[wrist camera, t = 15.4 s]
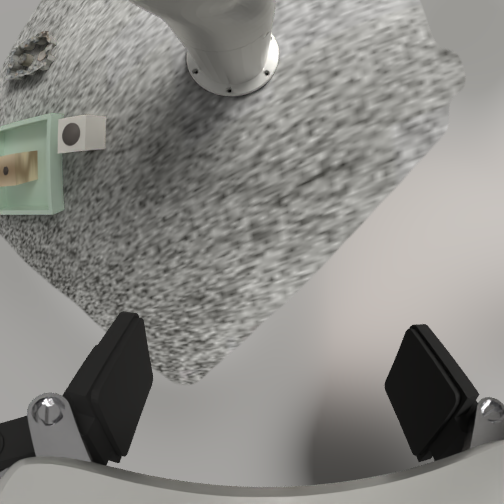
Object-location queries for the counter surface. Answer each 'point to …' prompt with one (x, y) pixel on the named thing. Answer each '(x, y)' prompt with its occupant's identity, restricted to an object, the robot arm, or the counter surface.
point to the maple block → (18, 168)
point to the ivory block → (81, 133)
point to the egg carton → (30, 56)
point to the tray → (49, 167)
